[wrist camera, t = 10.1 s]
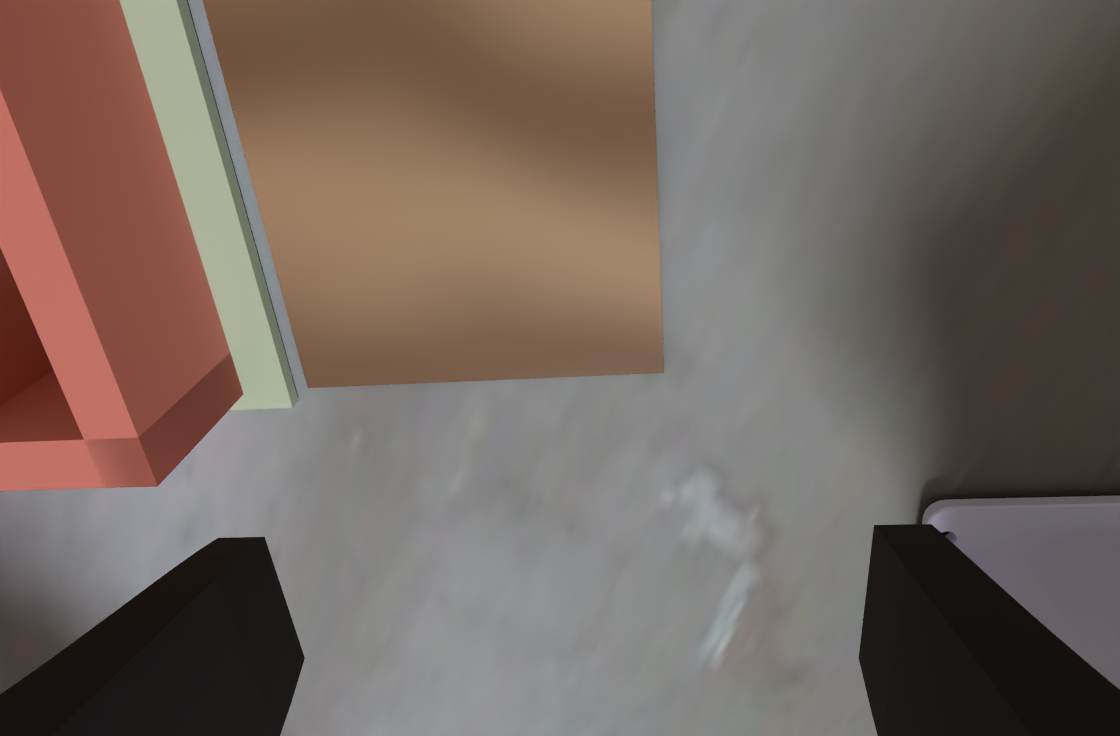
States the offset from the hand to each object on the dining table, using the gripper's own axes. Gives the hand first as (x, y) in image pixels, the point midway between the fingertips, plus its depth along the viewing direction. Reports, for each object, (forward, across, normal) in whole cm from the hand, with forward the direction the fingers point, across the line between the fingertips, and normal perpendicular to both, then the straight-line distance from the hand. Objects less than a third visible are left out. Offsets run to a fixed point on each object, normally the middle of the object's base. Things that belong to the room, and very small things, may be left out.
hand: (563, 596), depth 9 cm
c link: (+10, +12, -3) cm, 16 cm away
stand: (+10, +3, -5) cm, 11 cm away
